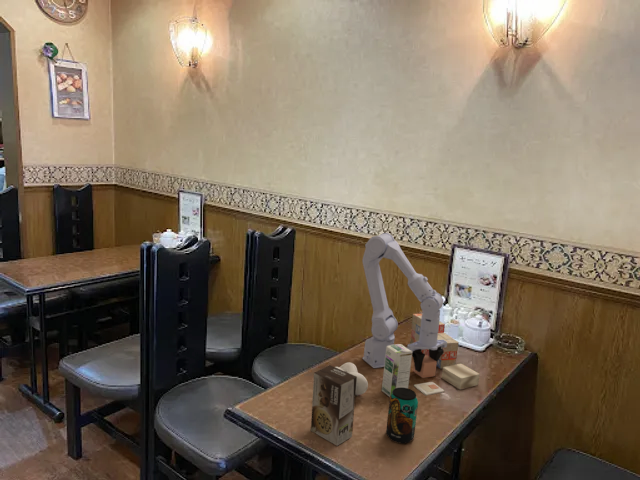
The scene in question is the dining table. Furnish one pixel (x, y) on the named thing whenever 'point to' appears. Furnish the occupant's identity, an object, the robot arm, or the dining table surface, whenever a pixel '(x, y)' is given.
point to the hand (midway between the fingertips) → (424, 369)
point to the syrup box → (396, 368)
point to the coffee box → (333, 404)
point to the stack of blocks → (452, 345)
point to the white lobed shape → (361, 380)
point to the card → (429, 388)
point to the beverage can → (402, 415)
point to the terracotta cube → (427, 367)
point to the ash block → (460, 376)
